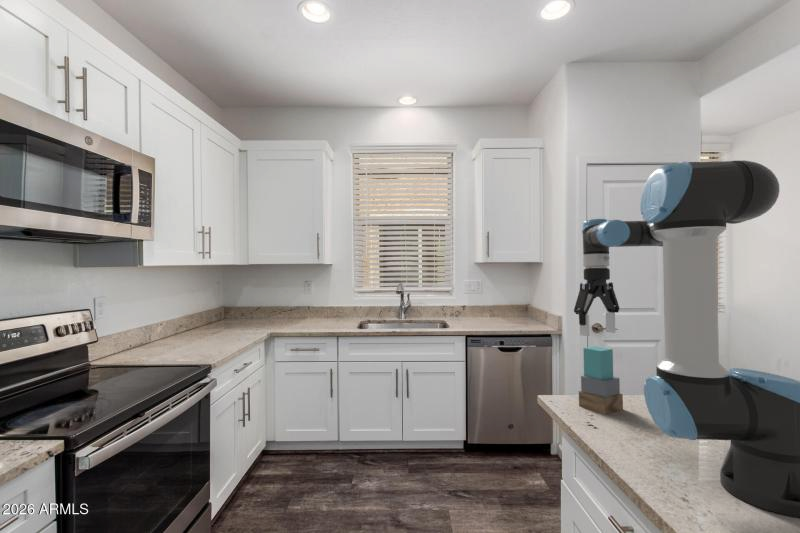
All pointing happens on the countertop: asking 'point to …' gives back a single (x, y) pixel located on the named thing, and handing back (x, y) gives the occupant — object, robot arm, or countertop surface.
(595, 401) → the walnut base
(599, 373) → the teal block
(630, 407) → the countertop surface
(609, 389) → the charcoal block
